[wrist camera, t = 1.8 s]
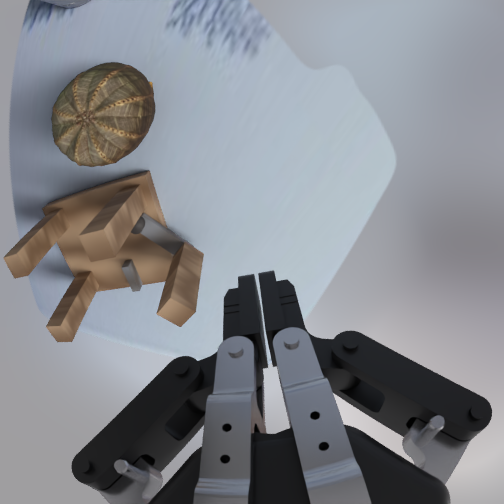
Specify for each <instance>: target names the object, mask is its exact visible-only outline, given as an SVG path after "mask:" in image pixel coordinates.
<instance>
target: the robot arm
mask: <svg viewBox="0 0 504 504" xmlns="http://www.w3.org/2000/svg"><path fill="white" fill-rule="evenodd" d="M40 1H44V2H48V3H51V4H54V5H58V6H61V7H64V8H74V7H78V6H81V5H83V4H85V3H87V2H89V1H90V0H40ZM258 275H259V282H260V290H261V298H262V306H263V313H264V321H265V329H266V335H267V340H268V345H269V349H270V354H271V359H272V364H273V367H275V366H277V369H278V374H279V379H280V384H281V388H282V393H283V398H284V402H285V406H286V411H287V415H288V420H289V424H290V428H289V429H286V430H284V431H281V432H279V433H276V434H266V427H265V410H264V408H265V407H264V382H263V380H264V376H263V368H268V363H267V354H266V346H265V338H264V329H263V321H262V313H261V306H260V300H259V295H258V290H257V285H256V281H255V276H254V274H251V275H245V276H239V277H238V288H234V289H229V290H228V292H227V293H226V295H225V297H224V320H223V342H222V343H221V344H220V346H219V348H218V351H217V352H216V353H215V354H213V355H212V356H210V357H207V358H205V359H202V360H200V361H197V360H196V359H194V358H192V357H189V356H182V357H178V358H176V359H174V360H173V361H171V362H170V363H169V364H168V365H167V366H166V367H165V368H164V369H163V370H162V371H161V372H160V373H159V374H158V375H157V376H156V377H155V378H154V379H153V380H152V381H151V382H150V383H149V384H148V385H147V386H146V387H145V388H144V389H143V390H142V391H141V392H140V393H139V394H138V395H137V396H136V397H135V398H134V399H133V400H132V401H131V402H130V403H129V404H128V405H127V406H126V407H125V408H124V409H123V410H122V411H121V412H120V413H119V414H118V415H117V416H116V417H115V418H114V419H113V420H112V421H111V422H110V423H109V424H108V425H107V426H106V427H105V428H104V429H103V430H102V431H101V432H100V433H99V434H97V435H96V436H95V437H94V438H93V439H92V440H91V441H90V442H89V443H88V444H87V445H86V446H85V447H84V448H83V449H82V450H81V451H80V452H79V453H78V454H77V455H76V456H75V457H74V459H73V461H72V472H73V475H74V477H75V478H76V479H77V480H78V481H80V482H81V483H84V484H86V485H88V486H90V487H92V488H93V489H95V490H97V491H99V492H100V493H101V494H102V496H104V498H105V499H106V500H107V501H108V502H109V503H110V504H450V495H449V492H448V489H447V487H446V486H445V483H446V482H447V481H448V479H449V477H450V476H451V474H452V472H453V471H454V469H455V467H456V465H457V464H458V462H459V460H460V459H461V457H462V455H463V453H464V451H465V449H466V447H467V445H468V444H469V442H470V440H471V439H472V438H474V437H475V436H476V435H477V434H478V433H480V432H481V431H482V430H483V429H484V428H485V427H486V426H487V425H488V424H489V422H490V420H491V417H492V409H491V405H490V403H489V402H488V401H487V400H486V399H485V398H484V397H482V396H480V395H478V394H476V393H474V392H472V391H470V390H468V389H466V388H464V387H462V386H460V385H458V384H456V383H454V382H452V381H450V380H449V379H447V378H445V377H443V376H441V375H439V374H437V373H435V372H433V371H431V370H429V369H427V368H425V367H423V366H422V365H420V364H418V363H416V362H414V361H412V360H410V359H408V358H406V357H404V356H403V355H401V354H398V353H397V352H395V351H393V350H391V349H389V348H388V347H385V346H384V345H382V344H380V343H378V342H376V341H375V340H372V339H371V338H369V337H367V336H365V335H363V334H362V333H359V332H356V331H345V332H342V333H340V334H338V335H337V336H336V337H335V338H334V339H321V338H317V337H314V336H312V335H311V334H309V333H308V332H307V330H306V328H305V325H304V322H303V318H302V314H301V310H300V307H299V303H298V299H297V296H296V292H295V288H294V286H293V285H292V284H291V283H290V282H289V281H288V280H281V281H276V278H275V273H274V271H268V272H262V273H258ZM333 393H334V394H336V395H337V396H339V397H341V398H342V399H343V400H345V401H346V402H348V403H349V404H351V405H353V406H354V407H356V408H357V409H359V410H360V411H362V412H364V413H365V414H367V415H368V416H370V417H372V418H373V419H375V420H376V421H378V422H380V423H381V424H383V425H385V426H386V427H388V428H390V429H391V430H393V431H395V432H396V433H398V434H400V435H401V436H403V437H404V438H403V442H402V445H403V449H404V451H405V453H406V454H407V455H409V456H410V457H411V458H412V459H413V461H414V463H415V465H414V464H412V463H410V462H409V461H407V460H406V459H404V458H403V457H401V456H399V455H398V454H396V453H395V452H393V451H391V450H390V449H388V448H386V447H385V446H383V445H382V444H380V443H379V442H377V441H376V440H374V439H373V438H371V437H370V436H368V435H367V434H366V433H364V432H362V431H361V430H359V429H357V428H354V427H351V426H348V425H344V424H343V421H342V418H341V415H340V412H339V409H338V407H337V404H336V401H335V398H334V395H333ZM203 425H204V433H203V443H202V447H200V448H199V449H197V450H196V451H195V452H194V453H193V454H192V455H191V456H190V457H189V458H188V459H187V461H186V462H185V463H184V464H183V465H182V466H181V467H180V469H179V470H178V471H177V472H176V473H175V474H174V475H173V477H172V478H171V479H170V480H169V481H168V482H167V483H166V484H165V486H163V488H162V489H161V490H160V491H159V489H160V488H161V486H162V482H163V478H162V475H161V471H162V470H163V469H164V468H165V467H166V466H167V465H168V464H169V463H170V462H171V461H172V460H173V459H174V457H175V456H176V455H177V454H178V453H179V452H180V451H181V450H182V449H183V448H184V447H185V446H186V444H187V443H188V442H189V441H190V440H191V439H192V438H193V437H194V435H195V434H196V433H197V432H198V431H199V430H200V429H201V427H202V426H203ZM158 491H159V492H158ZM157 492H158V493H157Z"/></svg>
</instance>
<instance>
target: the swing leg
mask: <svg viewBox="0 0 504 504" xmlns="http://www.w3.org/2000/svg"><path fill="white" fill-rule="evenodd" d="M131 233H133V234H139V233H141V234H142V235H144V236H145V237H147V238H148V239H150V240H151V241H153V242H155V243H156V244H158V245H159V246H161V247H162V248H164V249H165V250H167V251H168V252H170V253H171V254H173V255H174V256H173V258H172V262H171V265H170V268H169V272H168V275H167V278H166V282H165V285H164V289H163V292H162V296H161V300H160V303H159V307H158V311H157V315H159V316H161V317H163V318H164V319H166V320H168V321H170V322H172V323H174V324H175V325H177V326H179V327H181V326H182V325H183V324H184V323H185V322H186V321H187V320H188V319H189V318H190V317H191V316H192V315H193V314H194V313H195V312H196V305H197V297H198V290H199V283H200V276H201V269H202V262H203V255H204V254H203V253H202V252H200V251H199V250H197V249H196V248H194V246H193V245H192V244H190V243H189V242H187V241H185V240H184V239H182V238H181V237H179V236H178V235H176V234H175V233H173V232H172V231H170V230H169V229H168V228H166V227H165V226H163V225H162V224H160V223H159V222H157V221H156V220H154V219H153V218H151V217H150V216H148V215H147V214H145V213H144V214H143V213H142V215H141V216H140V218H139V219H138V221H137V222H136V224H135V226H134V227H133V229H132V230H131Z"/></svg>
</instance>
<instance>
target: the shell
mask: <svg viewBox="0 0 504 504" xmlns="http://www.w3.org/2000/svg"><path fill="white" fill-rule="evenodd" d="M154 114H155V102H154V92H153V86H152V82H148V80H147V79H146V77H145V76H144V75H143V74H142V73H141V72H140V71H138V70H137V69H135V68H133V67H132V66H129V65H125V64H122V63H115V62H111V63H103V64H100V65H97V66H95V67H93V68H91V69H89V70H87V71H85V72H82V73H80V74H78V75H77V76H76V78H75V79H73V80H72V81H71V82H70V83H69V84H68V85H67V86H66V87H65V89H64V90H63V91H62V92H61V94H60V95H59V97H58V99H57V101H56V103H55V104H54V106H53V114H52V132H53V138H54V142H55V144H56V145H57V146H58V147H59V149H60V151H61V152H62V153H64V154H65V155H67V156H68V158H69V159H70V160H71V161H74V162H76V163H77V164H78V165H79V166H82V165H84V166H89V167H94V166H104V165H108V164H113V163H116V162H118V161H119V160H120V159H121V158H123V157H125V156H127V155H128V154H130V153H131V152H132V151H134V150H135V149H136V148H137V147H138V145H139V144H140V143H141V142H142V140H143V139H144V137H145V136H146V134H147V133H148V131H149V128H150V126H151V124H152V122H153V119H154Z"/></svg>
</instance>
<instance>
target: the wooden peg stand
mask: <svg viewBox="0 0 504 504" xmlns="http://www.w3.org/2000/svg"><path fill="white" fill-rule="evenodd" d="M42 210H43V212H44V214H45V217H44V218H43V219H42V220H41V221H40V222H38V223H37V224H36V225H35V226H34V227H33V228H32V229H31V230H30V231H29V232H28V233H27V234H26V235H25V236H24V237H23V238H22V239H21V240H20V241H19V242H18V243H17V244H16V245H15V246H14V247H13V248H12V249H11V250H10V251H9V252H8V253H7V254H6V256H5V257H4V260H5V262H6V264H7V266H8V268H9V269H10V271H11V273H12V275H13V276H14V278H19V277H23V276H28V275H29V274H30V273H31V272H32V270H33V269H34V268H35V267H36V265H37V264H38V263H39V262H40V260H41V259H42V258H43V257H44V256H45V254H46V253H47V252H48V251H49V250H50V249H51V247H52V246H53V245H54V244H55V243H56V242H57V244H58V246H59V248H60V250H61V252H62V254H63V256H64V258H65V260H66V262H67V264H68V266H69V268H70V270H71V271H72V273H73V275H74V277H75V278H74V280H73V281H72V283H71V285H70V286H69V288H68V289H67V291H66V293H65V294H64V296H63V298H62V299H61V301H60V303H59V304H58V306H57V308H56V310H55V311H54V313H53V315H52V317H51V318H50V320H49V322H48V324H47V326H46V327H47V329H48V330H49V331H50V333H51V334H52V336H53V337H54V338H55V339H56V341H57V342H72V341H73V339H74V337H75V334H76V332H77V330H78V328H79V326H80V324H81V321H82V319H83V317H84V315H85V313H86V311H87V309H88V307H89V305H90V303H91V301H92V299H93V297H94V295H95V293H96V292H98V291H105V290H111V289H118V288H125V287H131V289H132V291H133V292H135V291H140V289H141V286H142V285H145V284H151V283H158V282H164V281H166V278H167V275H168V272H169V268H170V265H171V262H172V258H173V256H174V255H173V254H171V253H170V252H168V251H167V250H165V249H164V248H162V247H161V246H159V245H158V244H156V243H155V242H153V241H151V240H150V239H148V238H147V237H145V236H144V235H142V234H141V233H139V234H133V233H131V230H132V229H133V227H134V226H135V224H136V222H137V221H138V219H139V218H140V216H141V215H142V213H143V214H144V213H145V214H147V215H148V216H150V217H151V218H153V219H154V220H156V221H157V222H159V223H160V224H162V225H163V226H165V227H166V228H167V225H166V222H165V219H164V216H163V213H162V210H161V207H160V204H159V200H158V197H157V194H156V191H155V187H154V184H153V181H152V177H151V174H150V171H146V172H142V173H139V174H135V175H132V176H128V177H125V178H121V179H118V180H115V181H111V182H108V183H105V184H102V185H99V186H96V187H93V188H90V189H87V190H84V191H81V192H78V193H75V194H72V195H69V196H67V197H64V198H61V199H58V200H56V201H53V202H50V203H48V204H47V205H46V206H45V207H44V208H42Z"/></svg>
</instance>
